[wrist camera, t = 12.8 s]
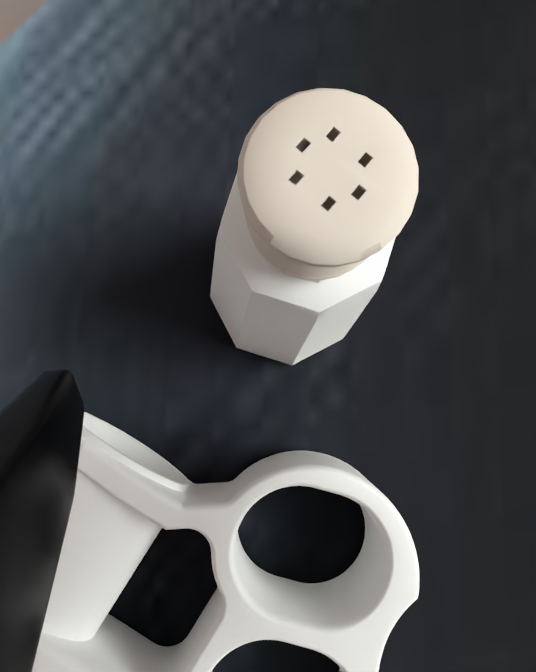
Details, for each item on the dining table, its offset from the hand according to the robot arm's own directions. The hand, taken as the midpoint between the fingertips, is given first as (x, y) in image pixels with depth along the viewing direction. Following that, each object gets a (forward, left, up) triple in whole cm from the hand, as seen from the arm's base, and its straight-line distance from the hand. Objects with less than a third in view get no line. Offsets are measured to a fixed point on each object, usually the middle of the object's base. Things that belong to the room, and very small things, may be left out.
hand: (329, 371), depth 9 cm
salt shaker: (+2, -3, -10) cm, 10 cm away
